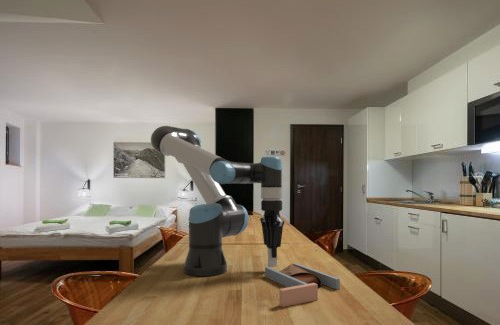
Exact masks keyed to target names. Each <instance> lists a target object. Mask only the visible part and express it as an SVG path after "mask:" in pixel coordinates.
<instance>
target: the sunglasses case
mask: <svg viewBox="0 0 500 325" xmlns="http://www.w3.org/2000/svg"><path fill="white" fill-rule="evenodd" d="M279 272H281V273H284V274H286V275H288V276H291V277H293V278H295V279H298V280H300V281H303V282H305V283H307V284H310V283H315V284H318V289H319V288H322V284H321V281H320V279H319V278H318V277H317V276H316V275H314V274H311V273H309V272H307V271H305V270H303V269H301V268H298V267H296V266H294V265H293V263H290V265H287V266H286V267H284V268H283V269H281V270H280V271H279Z"/></svg>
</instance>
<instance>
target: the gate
mask: <svg viewBox="0 0 500 325" xmlns="http://www.w3.org/2000/svg"><path fill="white" fill-rule="evenodd" d="M318 290H319V288H318V284H315V283H310V284H304V285H299V286H293V287H283V288H279V291H278V292H279V295H278V296H279V298H278V299H279V300H278V301H279V302H278V303H279V306H280V307H281V308H286V307H291V306H294V305H299V304H305V303H309V302H315V301H318V300H319V297H318V296H319V294H318V292H319V291H318Z"/></svg>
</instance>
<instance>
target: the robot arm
mask: <svg viewBox="0 0 500 325" xmlns="http://www.w3.org/2000/svg"><path fill="white" fill-rule="evenodd" d="M201 143H202V140H201V137H200V136H199V134H198V133H197V132H196V131H195V130H191V129H188V128H180V127H176V126H175V127H174V126H170V125H162V126H159V127H157V128H155V130H154V131H153V132H152V134H151V136H150V144H151V146H152V148H153V149H154V151H156V152H158V153H160V154H162V155H164V156H165V157H170V156H171V157H173V158H175V160H176V161H177V162H178V163H179V164H183V166H184V168H185V170H186V171H187V173H188V174H189V177H190V178H191V180H192V181H193V183H194V185H195V187H196V189H197V191H198V192H199V193H200V195H201V197H202V198H203V201H204V203H203V204H202V203H201V204H197V205H194V206H192V207H191V208H190V209H189V214H188V251H187V255H186V258H185V260H184V261H185V262H184V264H183V273H184V274H185V273H186V275H188V276H193V277H194V276H195V277H210V276H211V277H212V276H218V275H221V274H224V273H226V272H227V271H228V265H227V264H228V263H227V260H226V257H225V255H224V250H223V241H222V240H223V238H227V237H231V236H237V235H239V234H242V233H243V232H244V231H245V230H246V229H247V227H248V224H249V219H250V218H249V214H248V210H247V209H246V208H245V207H244V206H243V205H241V204H237V203H236V201H235V199H234V197H232V195H227V194H226V192H225V191H224V189H223V187H222V186H221V185H226V184H240V185H242V184H244V185H246V184H260V198H261V201H260V206H261V208H260V209H261V211H263V212H264V213H263V217H260V219H259V220H260V223H261V230H262V237H263V238H262V239H263V244H264V245H265V246H266V248H267V267H269V268H274V267H275V268H276V267H277V265H278V262H277V258H278V253H277V252H278V248H280V247H281V245H282V237H283V230H284V229H283V228H284V226H285V219H284V220H282V219H281V215H280V214H281V213H280V212H281V211H282V210H283V201H282V198H283V194H282V193H283V190H282V188H283V186H282V183H283V182H282V176H283V174H282V171H283V168H282V159H281V158H280V157H279V156H262V157H260V162H257V163H255V162H252V163H249V162H247V163H246V162H236V161H235V162H234V161H230V160H227V159H225V158H223V157H221V156H218V154H214V153H212V152H210V151H209V150H206V149H204V148H202V144H201Z"/></svg>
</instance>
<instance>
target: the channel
mask: <svg viewBox="0 0 500 325" xmlns="http://www.w3.org/2000/svg"><path fill="white" fill-rule="evenodd" d="M292 264H293V265H294V266H296V267H298V268H301V269H303V270H305V271H307V272H309V273H311V274H314V275H316V276H317V277H318V278H319V279H320V281H321V285H324V286H327V287H329V288H331V289H334V290H340V288H341V286H340V285H341V283H340V281H341V279H340V278H339V277H336V276H334V275H330V274H328V273H325V272H322V271H320V270H316V269H314V268H311V267H307V266H305V265H303V264H299V263H297V262H293V263H292ZM264 277H265V278H267V279H270V280H272V281H274V282H276V283H277V284H279V285H282V286H284V287H285V288H287V287H293V286H299V285H304V284H307V283H305V282H303V281H300V280H298V279H295V278H293V277H291V276H288V275H286V274H284V273H281V272H279V271H278V270H277V269H273V267H268V266H266V267H264Z"/></svg>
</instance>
